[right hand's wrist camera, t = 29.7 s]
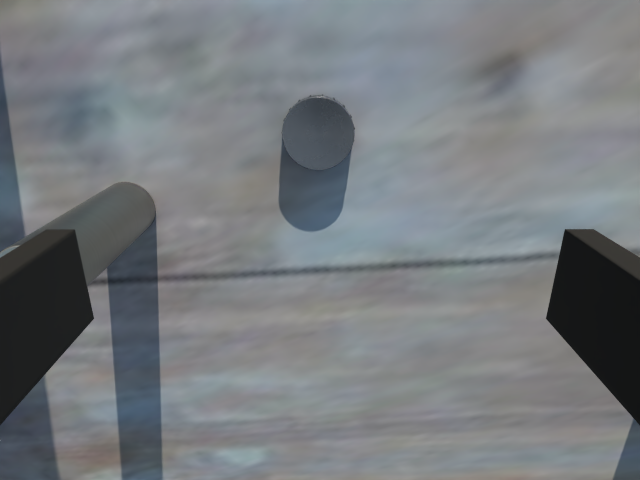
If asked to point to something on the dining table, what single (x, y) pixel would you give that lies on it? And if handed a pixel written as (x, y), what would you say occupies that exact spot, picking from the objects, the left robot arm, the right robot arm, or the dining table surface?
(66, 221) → the jar
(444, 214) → the dining table surface
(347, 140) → the lid
